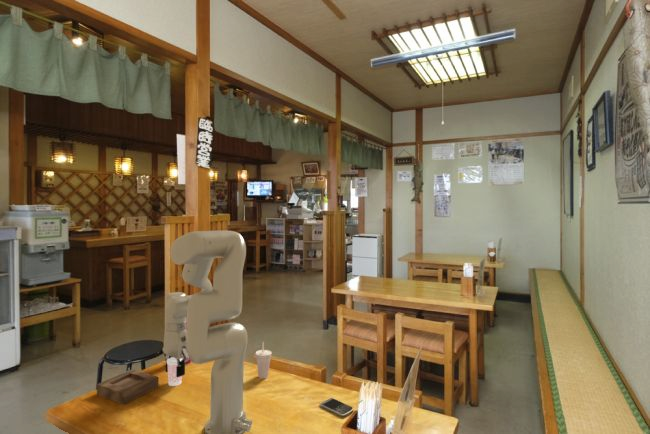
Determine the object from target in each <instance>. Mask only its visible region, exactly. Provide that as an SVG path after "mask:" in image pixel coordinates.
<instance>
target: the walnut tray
mask: <svg viewBox="0 0 650 434" xmlns="http://www.w3.org/2000/svg"><path fill="white" fill-rule="evenodd" d="M159 380H160V379H159V376H156V375H153V374H149V373H145V372H142V371H139V370H137V369H130V370H127V371H125V372H123V373H120V374H118V375H115V376H113V377H111V378H109V379H106V380H104V381H102V382H99V383H97V384H96V396H97V397H100V398H101V397H102V398H104V399H107V400H110V401H114V402H116V403H119V404H122V405H126V404H128V403H131V402H132V401H135V400H136V399H138V398H140V397H142V396H144V395H145V394H147V393H150V392H151V391H154V390H156V389H157V388H159Z"/></svg>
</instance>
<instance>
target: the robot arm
mask: <svg viewBox="0 0 650 434" xmlns="http://www.w3.org/2000/svg"><path fill="white" fill-rule="evenodd" d="M169 250H170V251H169V252H170V253H169V255H170V260H171V262H172V263H173V264H175V265H178V266H179V265H184V266H183V268H182V269H183V270H182V273H181V277H182V278H181V279H182V280H183V281H184V282H185V283H186V284H188V285H189V286H192V287H197V288H198V289H201V290H200V291H198V292H195V293H194V294H190V295H187V293H185V292H182V291H174V292H170V293H167V294H166V295H165V298H164V299H165V300H164V301H165V303H164V305H165V307H164V335H163V347H162V353H163V355H164V361H165V372H166V373H168V366H167V359H169V358H171V357H174V358H176V360H177V365H178V366H177V367H176V377H180V376H182V377H183V376H185V375H186V365H187V364H186V362H187V361H188V360H189V358H190V360H191V363H193V364H195V365H202V364H206V363H207V364H208V363H210V362H213V361H214V362H213V364H212V367H211V371H210V410H209V411H210V413H209V416H210V418H209V419H208V420H207V421H206V422H205V425H204V432H205V434H243V433H244V432H246V433H249V432H250V431H251V429H252V424H253V420H251V419H248V418H247V416H246V415H247V414H246V413H247V412H245V411H243V410H244V369H245V368H244V366H245V357H246V350H247V346H248V339H249V338H248V331H247V329H246V328H245V326H244V325H243V324H242V323H239V322H227V323H222V324H216V325H213V326H210V325H211V324H215V323H218V322H219V323H220V322H224V321H229V320H232V319H236V318H238V317H240V315H241V313H242V310H243V273H244V272H243V271H244V266H245V261H246V256H247V255H246V254H247V245H246V240H245V239H244V237H243V236H242V235H241V233H239V232H237V231H234V230H224V229H223V230H201V231H200V230H199V231H198V230H196V231H189V232H187V233H185V234H182V235H181V236H179V237H177V238H176V239H175V240H174V241H173V242H172V244H171V248H170V249H169ZM219 258H220V259H221V260H220V261H219V262H218V264H217V266H216V267H215V268H214V272H213V276H212V277H213V278H212V279H213V280H212V281H213V284H212V283H211V280H210V278H208V277H209V274H210V271H211V268H212V266H213V263H214V259H219ZM186 319H187V330H186ZM180 355H182V357H180ZM181 358H182V361H181V362H180V359H181Z"/></svg>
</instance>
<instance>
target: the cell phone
mask: <svg viewBox="0 0 650 434" xmlns="http://www.w3.org/2000/svg"><path fill="white" fill-rule="evenodd" d="M318 405H319V407H321V408H322V409H324V410H326V411H328V412H329V413H332V414H334V415H336V416H338V417H340V418H345V417H347V416H349V415H351V414H352V413H353V412H354V410H355V408H354V407H353V406H351V405H348V404H346V403H344V402H342V401H341V400H340V401H339V400H337V398H336V399H335V398H333V397H330V398H328V399H327V400H325V401H322V402H321V403H319V404H318ZM351 412H352V413H351Z"/></svg>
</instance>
